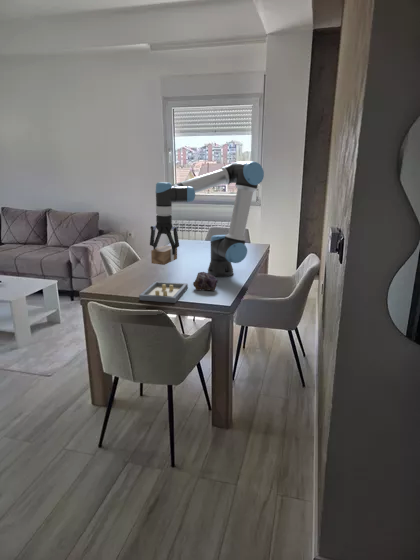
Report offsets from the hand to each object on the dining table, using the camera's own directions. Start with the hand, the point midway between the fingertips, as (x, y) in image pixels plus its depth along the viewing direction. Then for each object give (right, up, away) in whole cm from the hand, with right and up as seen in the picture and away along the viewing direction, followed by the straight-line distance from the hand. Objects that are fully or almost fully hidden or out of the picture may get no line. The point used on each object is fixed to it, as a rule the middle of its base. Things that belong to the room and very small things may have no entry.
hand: (164, 260), depth 192 cm
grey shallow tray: (0, -17, -1) cm, 17 cm away
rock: (+21, -15, +7) cm, 27 cm away
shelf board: (0, 0, 0) cm, 1 cm away
